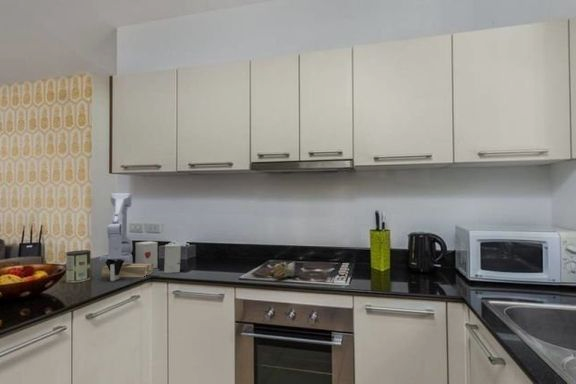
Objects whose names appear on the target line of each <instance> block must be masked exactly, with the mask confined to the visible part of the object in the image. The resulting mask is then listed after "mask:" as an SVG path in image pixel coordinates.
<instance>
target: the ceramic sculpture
mask: <svg viewBox="0 0 576 384" xmlns="http://www.w3.org/2000/svg"><path fill="white" fill-rule="evenodd" d="M295 271H296V262H295V261H293V262H290V263H288V262H286V261H284V260H281V261H280V263H276V264H275V265H274V267H273V270H270V271H269V272H265V273H264V274H265V275H267V276H270V277H272V278H273V279H276V280H280V279H284V278H286V277H290V278H292V277H294V276H295Z"/></svg>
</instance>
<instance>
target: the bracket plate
mask: <svg viewBox="0 0 576 384" xmlns="http://www.w3.org/2000/svg"><path fill="white" fill-rule="evenodd" d="M109 279H110V282H115V281H117V280H119V279H120V277H119V275H116V274H115V264H114V263H113V264H110V277H109Z"/></svg>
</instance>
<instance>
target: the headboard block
mask: <svg viewBox="0 0 576 384" xmlns="http://www.w3.org/2000/svg"><path fill="white" fill-rule="evenodd" d="M153 273H154V268H153V263H134V262H132V263H123V264H122V267H121V269H120V273H119V278H145V277H147V276H149V275H151V274H153ZM146 275H147V276H146ZM144 276H145V277H144ZM101 278H110V271H109V268H108V266H107V265H105V266H101Z"/></svg>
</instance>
